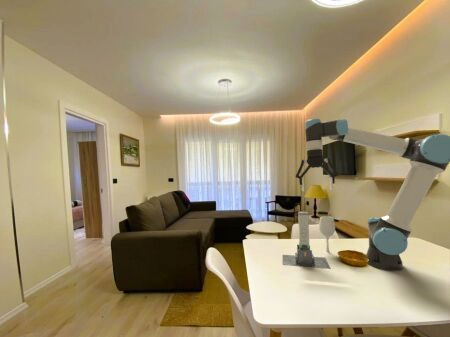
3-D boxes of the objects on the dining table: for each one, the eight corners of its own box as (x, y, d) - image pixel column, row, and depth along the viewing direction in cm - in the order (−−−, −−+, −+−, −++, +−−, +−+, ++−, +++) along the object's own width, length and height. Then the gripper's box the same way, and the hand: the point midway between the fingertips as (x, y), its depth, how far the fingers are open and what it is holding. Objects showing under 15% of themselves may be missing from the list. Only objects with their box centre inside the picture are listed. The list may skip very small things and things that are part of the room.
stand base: (325, 259, 116) (324, 241, 117) (330, 271, 103) (330, 250, 103) (282, 256, 122) (282, 239, 122) (282, 267, 108) (282, 247, 109)
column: (308, 248, 114) (307, 211, 115) (310, 251, 109) (308, 213, 110) (298, 247, 116) (297, 211, 116) (299, 251, 110) (298, 213, 111)
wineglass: (319, 256, 122) (318, 218, 123) (319, 250, 130) (318, 215, 131) (337, 257, 119) (335, 219, 119) (335, 252, 127) (334, 216, 127)
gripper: (338, 148, 113) (341, 189, 113) (289, 152, 119) (291, 191, 118) (343, 146, 106) (346, 190, 105) (289, 150, 112) (292, 192, 111)
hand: (317, 190), depth 112 cm, fingers open, 13 cm apart
